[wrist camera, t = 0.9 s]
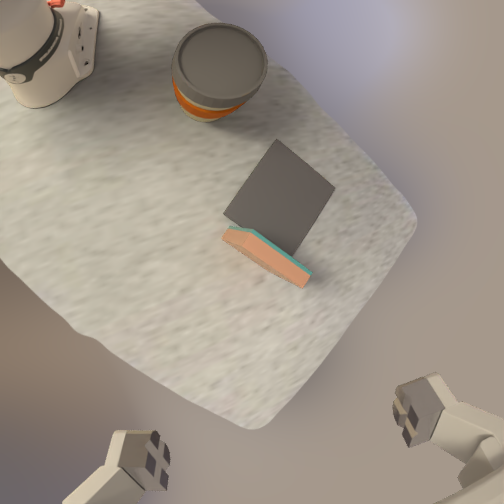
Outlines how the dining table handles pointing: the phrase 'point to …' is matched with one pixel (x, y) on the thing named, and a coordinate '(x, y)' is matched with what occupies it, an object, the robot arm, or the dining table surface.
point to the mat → (280, 198)
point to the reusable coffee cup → (217, 70)
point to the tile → (267, 255)
